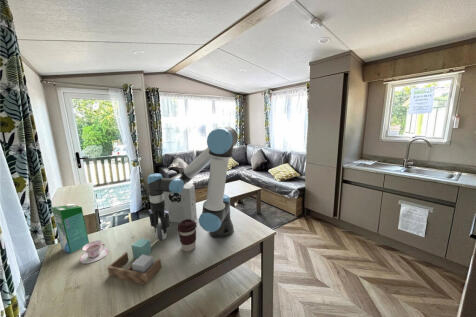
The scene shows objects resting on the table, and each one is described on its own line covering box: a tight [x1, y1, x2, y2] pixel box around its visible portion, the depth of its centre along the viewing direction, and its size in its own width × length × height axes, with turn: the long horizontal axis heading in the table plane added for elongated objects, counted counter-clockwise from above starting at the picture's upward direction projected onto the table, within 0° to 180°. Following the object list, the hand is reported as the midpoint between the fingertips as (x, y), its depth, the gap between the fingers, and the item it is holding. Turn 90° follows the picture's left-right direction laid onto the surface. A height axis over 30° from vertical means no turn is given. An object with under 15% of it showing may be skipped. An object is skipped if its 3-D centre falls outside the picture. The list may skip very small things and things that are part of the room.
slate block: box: [131, 255, 155, 273], centre depth 85 cm, size 6×6×7 cm
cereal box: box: [164, 183, 198, 223], centre depth 130 cm, size 22×8×25 cm, turn 77°
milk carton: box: [51, 203, 90, 254], centre depth 104 cm, size 9×9×25 cm
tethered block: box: [131, 222, 163, 260], centre depth 103 cm, size 6×19×9 cm, turn 163°
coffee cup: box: [177, 219, 198, 252], centre depth 102 cm, size 10×10×15 cm
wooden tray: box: [107, 251, 162, 285], centre depth 87 cm, size 20×10×4 cm, turn 75°
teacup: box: [79, 240, 109, 265], centre depth 98 cm, size 12×12×6 cm
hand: (161, 237), depth 112 cm, fingers closed on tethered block, 3 cm apart
